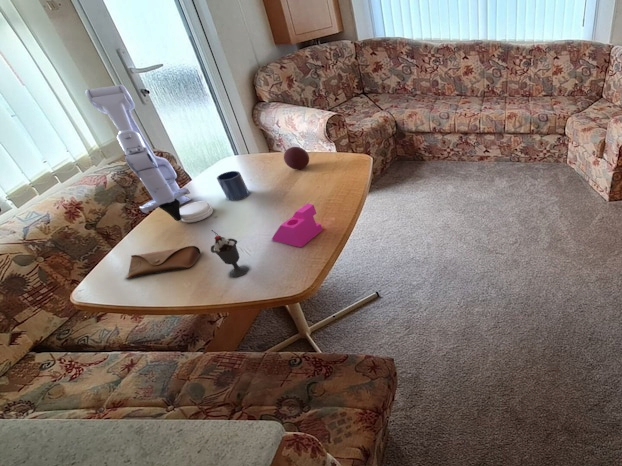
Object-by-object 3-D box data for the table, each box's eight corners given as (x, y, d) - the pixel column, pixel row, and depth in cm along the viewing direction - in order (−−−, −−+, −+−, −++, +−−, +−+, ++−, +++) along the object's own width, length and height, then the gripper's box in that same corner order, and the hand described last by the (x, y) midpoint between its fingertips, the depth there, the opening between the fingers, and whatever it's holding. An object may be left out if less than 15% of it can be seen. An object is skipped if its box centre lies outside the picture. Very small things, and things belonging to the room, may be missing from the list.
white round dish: (218, 213, 142) (214, 205, 140) (189, 226, 135) (184, 218, 133) (205, 205, 146) (200, 198, 144) (176, 218, 139) (171, 210, 137)
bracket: (322, 229, 131) (313, 204, 125) (301, 247, 124) (290, 221, 118) (295, 224, 135) (285, 199, 129) (272, 240, 127) (260, 215, 121)
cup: (222, 198, 151) (212, 178, 145) (241, 189, 156) (231, 169, 151) (235, 202, 148) (225, 182, 143) (253, 193, 154) (244, 173, 148)
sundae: (232, 265, 117) (209, 225, 108) (255, 263, 117) (233, 224, 108) (221, 280, 112) (196, 239, 103) (245, 278, 112) (222, 238, 103)
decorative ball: (316, 167, 171) (309, 147, 165) (293, 175, 166) (285, 154, 160) (306, 161, 177) (299, 141, 171) (284, 168, 171) (276, 148, 165)
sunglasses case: (123, 279, 112) (116, 257, 111) (139, 275, 119) (133, 255, 118) (192, 267, 116) (186, 246, 115) (204, 263, 123) (199, 243, 122)
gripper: (139, 198, 120) (162, 233, 129) (186, 179, 131) (205, 212, 139) (127, 194, 123) (151, 228, 131) (174, 175, 134) (193, 207, 142)
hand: (178, 219), depth 135 cm, fingers closed
